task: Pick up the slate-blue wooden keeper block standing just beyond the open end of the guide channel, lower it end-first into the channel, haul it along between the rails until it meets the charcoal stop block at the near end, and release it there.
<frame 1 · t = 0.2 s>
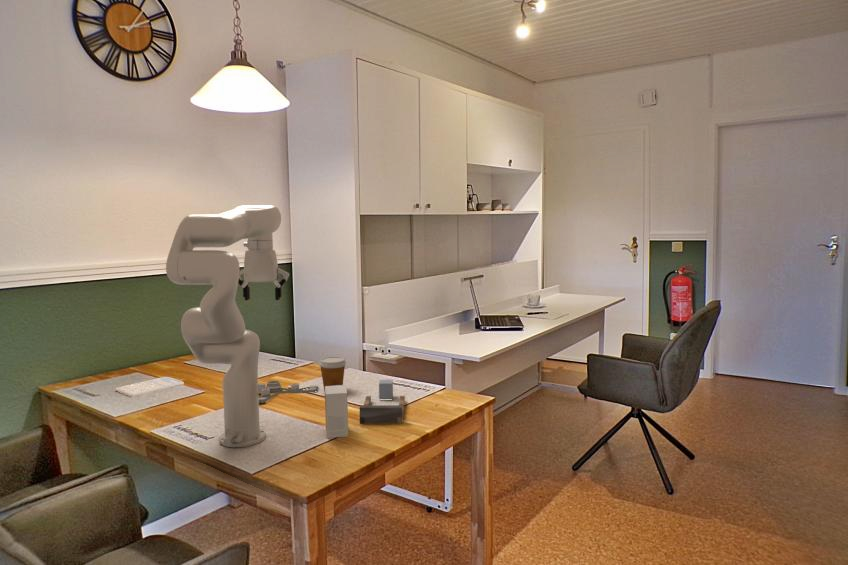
hand: (262, 299, 185), 37 cm above the table, tool pointing down, fingers open, 9 cm apart
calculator: (150, 389, 216), on the table
keeper: (386, 398, 202), on the table
guide channel: (383, 411, 188), on the table
disposable coffee cup: (333, 392, 210), on the table
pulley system: (279, 395, 208), on the table
small box: (336, 433, 171), on the table
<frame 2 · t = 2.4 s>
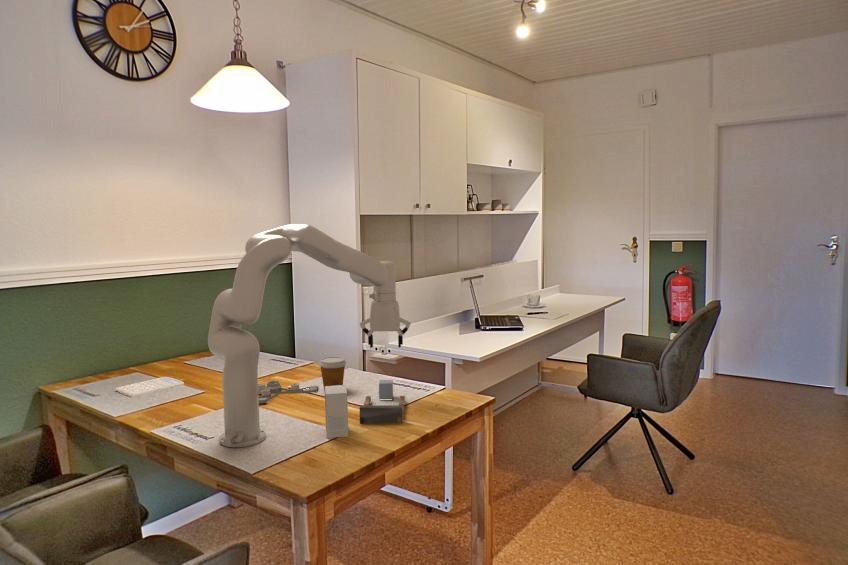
hand: (385, 346, 200), 18 cm above the table, tool pointing down, fingers open, 9 cm apart
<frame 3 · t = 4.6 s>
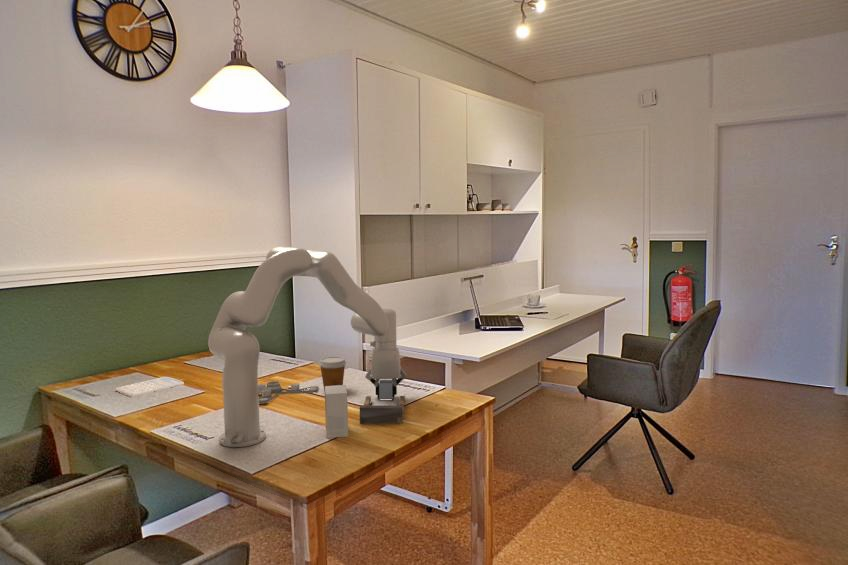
hand: (386, 396, 202), 1 cm above the table, tool pointing down, fingers closed on keeper, 4 cm apart
keeper: (386, 398, 202), on the table, touching gripper
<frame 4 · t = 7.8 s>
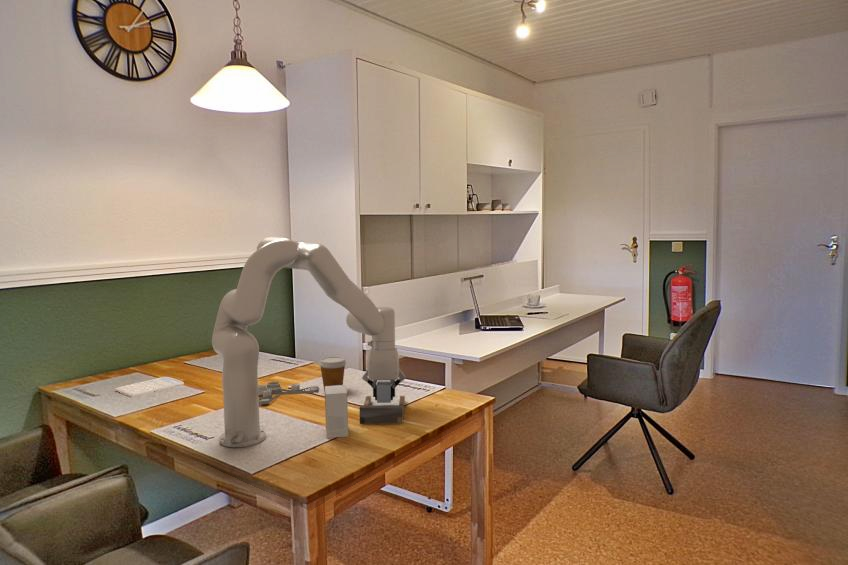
hand: (384, 398, 193), 3 cm above the table, tool pointing down, fingers closed on keeper, 4 cm apart
keeper: (384, 400, 193), point 2 cm above the table, touching gripper
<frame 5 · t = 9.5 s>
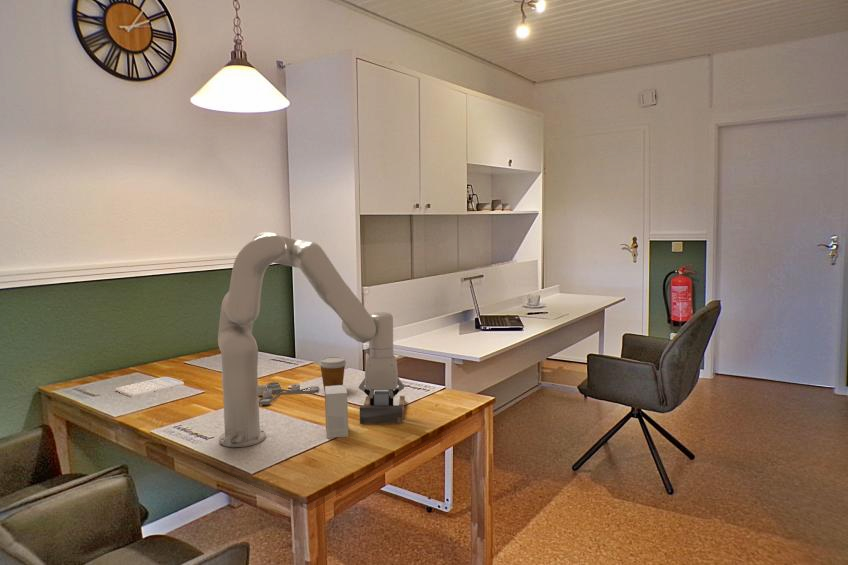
hand: (381, 408, 183), 3 cm above the table, tool pointing down, fingers closed on keeper, 4 cm apart
keeper: (381, 411, 183), point 2 cm above the table, touching gripper
when the fingers open (3 cm above the table, at t = 10.8 s): keeper drops 2 cm, resting in guide channel.
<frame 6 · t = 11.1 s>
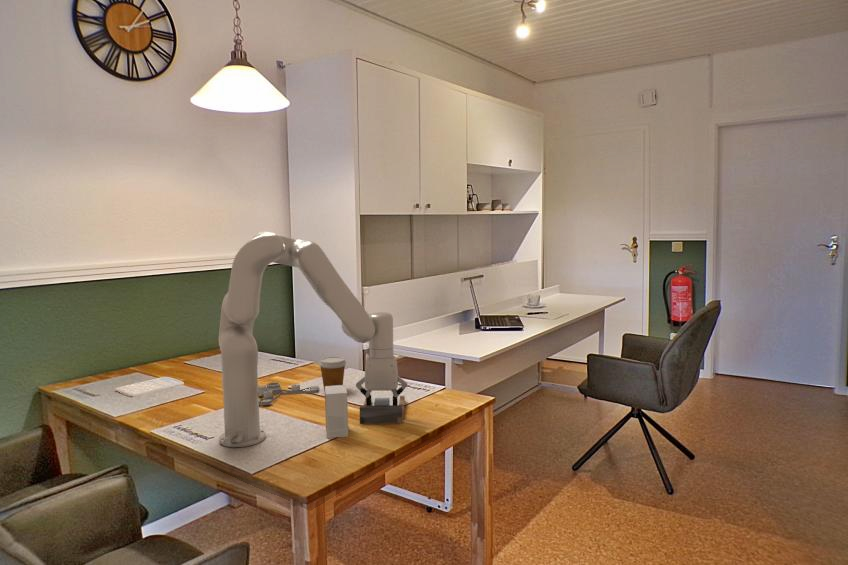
hand: (382, 408, 182), 3 cm above the table, tool pointing down, fingers open, 7 cm apart
keeper: (382, 418, 182), resting in guide channel
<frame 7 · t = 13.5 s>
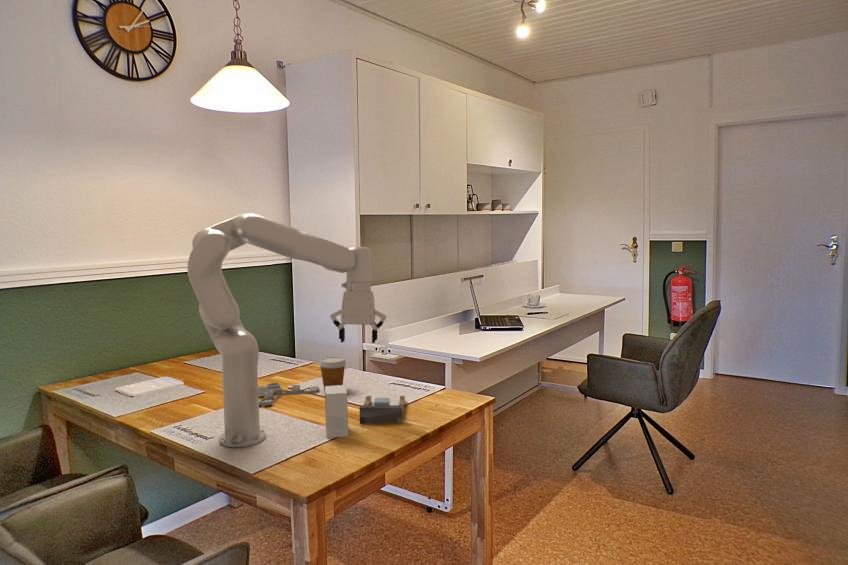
hand: (358, 341, 181), 24 cm above the table, tool pointing down, fingers open, 9 cm apart
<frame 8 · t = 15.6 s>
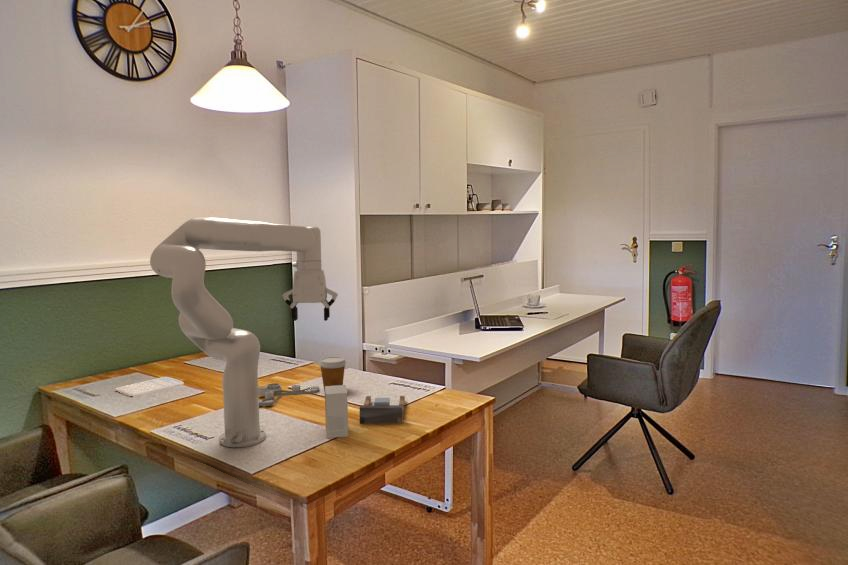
hand: (310, 320, 184), 30 cm above the table, tool pointing down, fingers open, 9 cm apart
at the end: keeper 1.5 cm from the target spot on the guide channel, point 0.0 cm above the guide channel's base; keeper tilted 0°; the gripper is holding nothing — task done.
